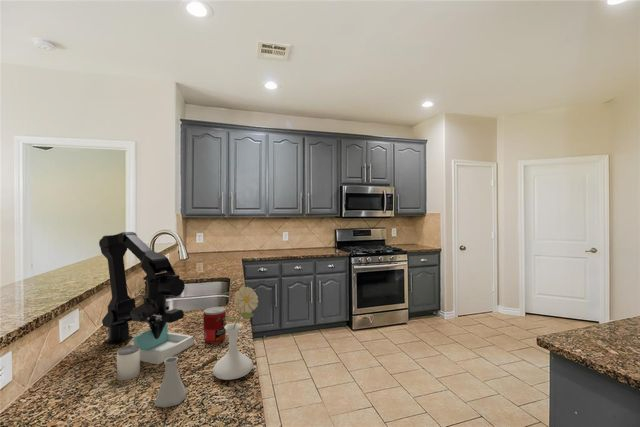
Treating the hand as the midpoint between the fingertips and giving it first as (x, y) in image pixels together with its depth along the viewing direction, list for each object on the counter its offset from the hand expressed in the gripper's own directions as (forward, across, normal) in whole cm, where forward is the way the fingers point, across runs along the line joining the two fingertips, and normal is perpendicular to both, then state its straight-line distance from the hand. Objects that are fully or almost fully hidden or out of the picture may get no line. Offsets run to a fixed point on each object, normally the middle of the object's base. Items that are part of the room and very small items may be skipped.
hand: (156, 338), depth 101 cm
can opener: (+5, +23, -3) cm, 23 cm away
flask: (+4, +27, -20) cm, 34 cm away
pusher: (+3, -2, 0) cm, 4 cm away
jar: (+4, +6, -15) cm, 17 cm away
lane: (+4, 0, 0) cm, 4 cm away
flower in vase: (+4, +35, -4) cm, 35 cm away
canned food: (+4, +13, +14) cm, 19 cm away
